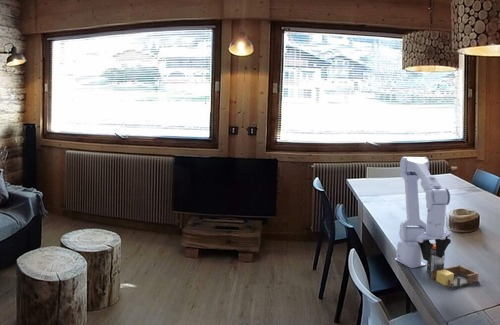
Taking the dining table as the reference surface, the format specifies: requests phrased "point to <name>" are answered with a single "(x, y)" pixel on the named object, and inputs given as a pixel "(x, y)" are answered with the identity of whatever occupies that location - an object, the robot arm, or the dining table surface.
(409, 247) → the robot arm
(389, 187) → the dining table surface
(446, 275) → the ochre block
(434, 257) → the pill bottle
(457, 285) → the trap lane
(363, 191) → the dining table surface
